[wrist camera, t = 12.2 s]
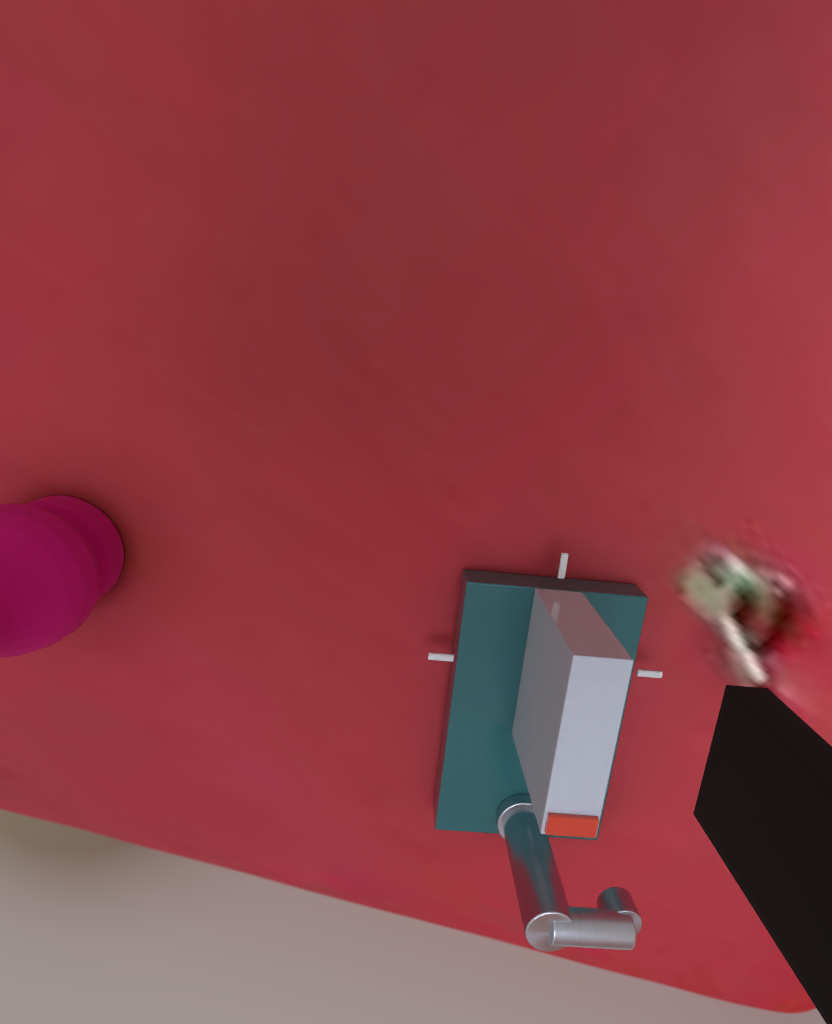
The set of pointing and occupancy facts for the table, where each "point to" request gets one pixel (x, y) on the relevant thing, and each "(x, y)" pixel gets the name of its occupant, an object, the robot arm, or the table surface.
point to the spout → (558, 891)
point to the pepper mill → (52, 569)
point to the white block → (569, 711)
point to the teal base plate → (505, 687)
